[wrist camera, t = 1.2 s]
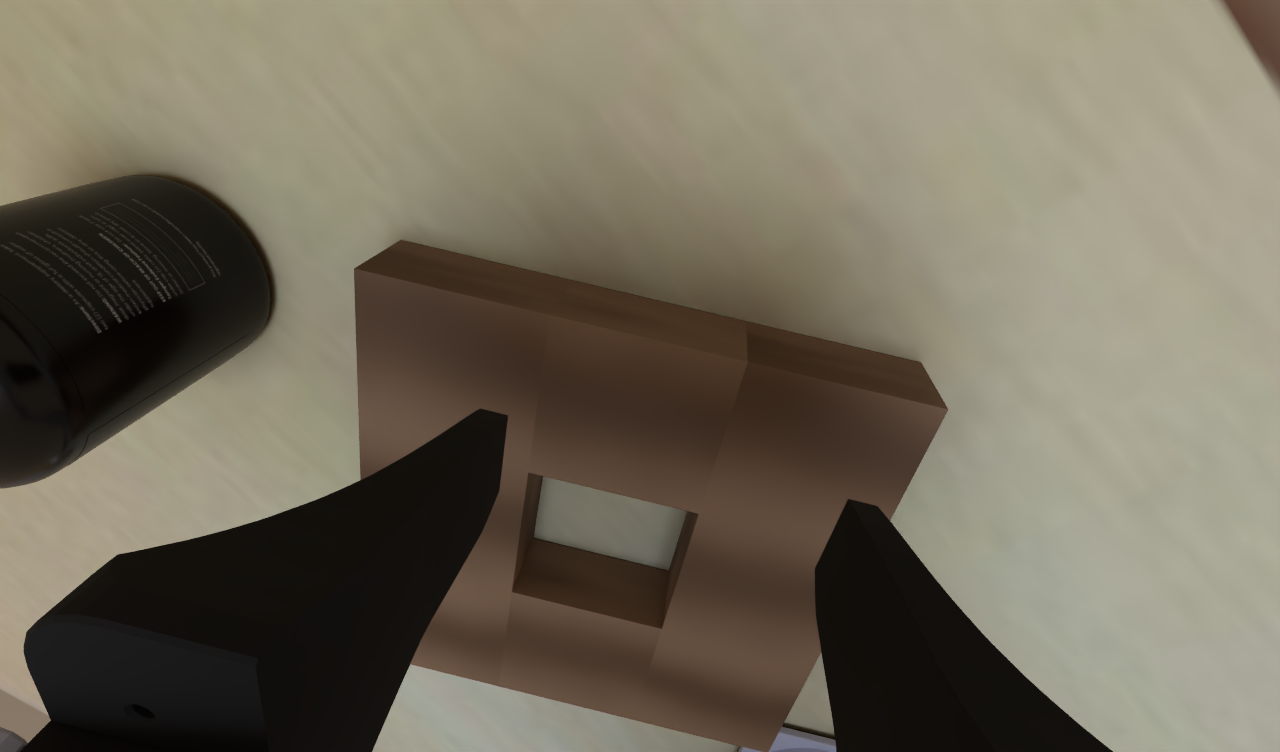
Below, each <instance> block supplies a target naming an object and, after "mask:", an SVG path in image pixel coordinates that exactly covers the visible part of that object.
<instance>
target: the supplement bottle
mask: <svg viewBox="0 0 1280 752" xmlns="http://www.w3.org/2000/svg"><path fill="white" fill-rule="evenodd" d="M269 310H270V286H269V281H268V276H267V273H266V270H265V267H264V264H263V262H262V259H261V257H260V255H259V253H258V251H257V250H256V248H255V246H254V244H253V243H252V241H251V240H250V238H249V237H248V235H247V234H246V233H245V232H244V230H243V229H242V228H241V227H240V225H239V224H238V223H237V222H236V221H235V220H234V219H233V218H232V217H231V216H230V215H229V214H228V213H227V212H226V211H225V210H223V209H222V208H221V207H220V206H219V205H217V204H216V203H215V202H213V201H212V200H211V199H209V198H207V197H206V196H204V195H203V194H201V193H199V192H198V191H196V190H194V189H192V188H190V187H188V186H185V185H183V184H181V183H178V182H175V181H172V180H169V179H165V178H161V177H155V176H147V175H133V176H124V177H119V178H114V179H109V180H105V181H101V182H96V183H91V184H87V185H83V186H79V187H75V188H71V189H67V190H63V191H59V192H55V193H51V194H47V195H42V196H38V197H34V198H30V199H26V200H22V201H18V202H14V203H10V204H6V205H2V206H0V489H1V488H10V487H16V486H21V485H26V484H30V483H34V482H37V481H40V480H42V479H45V478H47V477H49V476H51V475H53V474H55V473H56V472H58V471H60V470H61V469H63V468H64V467H66V466H68V465H70V464H71V463H73V462H74V461H76V460H78V459H79V458H81V457H82V456H84V455H85V454H87V453H88V452H90V451H91V450H93V449H94V448H96V447H97V446H99V445H100V444H102V443H103V442H105V441H106V440H108V439H109V438H111V437H113V436H114V435H116V434H117V433H119V432H120V431H122V430H123V429H125V428H126V427H128V426H129V425H131V424H132V423H134V422H135V421H137V420H138V419H140V418H141V417H143V416H144V415H146V414H147V413H149V412H151V411H152V410H154V409H155V408H157V407H158V406H160V405H161V404H163V403H164V402H166V401H167V400H169V399H170V398H172V397H173V396H175V395H176V394H178V393H179V392H181V391H182V390H184V389H185V388H187V387H188V386H190V385H192V384H193V383H195V382H196V381H198V380H199V379H201V378H202V377H204V376H205V375H207V374H208V373H210V372H211V371H213V370H214V369H216V368H217V367H219V366H220V365H222V364H223V363H225V362H226V361H228V360H229V359H231V358H232V357H234V356H235V355H236V354H238V353H239V352H241V351H242V350H244V349H245V348H246V347H248V346H249V345H250V344H251V343H252V342H253V341H254V340H255V339H256V338H257V337H258V336H259V334H260V333H261V332H262V330H263V328H264V326H265V324H266V321H267V319H268V315H269Z"/></svg>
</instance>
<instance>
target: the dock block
mask: <svg viewBox="0 0 1280 752" xmlns="http://www.w3.org/2000/svg"><path fill="white" fill-rule="evenodd" d="M354 281H355V313H356V345H357V377H358V409H359V441H360V473H361V480H362V479H364V478H366V477H368V476H370V475H372V474H374V473H375V472H377V471H379V470H381V469H383V468H385V467H386V466H388V465H390V464H392V463H394V462H395V461H397V460H399V459H401V458H403V457H404V456H406V455H408V454H409V453H411V452H412V451H414V450H416V449H417V448H419V447H421V446H422V445H424V444H425V443H427V442H429V441H430V440H432V439H433V438H435V437H437V436H438V435H440V434H441V433H443V432H444V431H446V430H447V429H449V428H450V427H452V426H453V425H455V424H456V423H458V422H459V421H461V420H462V419H464V418H465V417H467V416H468V415H470V414H471V413H473V412H474V411H476V410H478V409H480V408H481V409H485V410H489V411H493V412H497V413H501V414H505V415H508V422H507V430H506V439H505V447H504V456H503V465H502V473H501V482H500V490H499V493H498V496H497V498H496V500H495V503H494V505H493V508H492V510H491V513H490V515H489V517H488V520H487V522H486V524H485V527H484V529H483V531H482V533H481V535H480V537H479V539H478V540H477V542H476V544H475V546H474V547H473V549H472V551H471V553H470V554H469V556H468V558H467V560H466V561H465V563H464V565H463V567H462V568H461V570H460V572H459V573H458V575H457V577H456V579H455V580H454V582H453V584H452V586H451V587H450V589H449V591H448V592H447V594H446V596H445V598H444V599H443V601H442V603H441V605H440V606H439V608H438V610H437V611H436V613H435V615H434V617H433V618H432V620H431V622H430V624H429V626H428V628H427V630H426V632H425V633H424V635H423V637H422V639H421V641H420V643H419V646H418V648H417V650H416V652H415V654H414V657H413V659H412V661H411V663H410V664H412V665H416V666H420V667H424V668H428V669H432V670H436V671H440V672H444V673H448V674H452V675H456V676H460V677H464V678H468V679H472V680H476V681H480V682H484V683H488V684H492V685H496V686H500V687H504V688H508V689H512V690H516V691H520V692H524V693H528V694H532V695H536V696H540V697H544V698H548V699H552V700H556V701H560V702H564V703H568V704H572V705H576V706H580V707H584V708H589V709H593V710H597V711H601V712H605V713H609V714H613V715H617V716H621V717H625V718H629V719H633V720H637V721H641V722H645V723H649V724H653V725H657V726H661V727H665V728H669V729H673V730H677V731H681V732H685V733H689V734H693V735H697V736H701V737H705V738H709V739H713V740H717V741H721V742H725V743H729V744H733V745H737V746H741V747H745V748H749V749H753V750H757V751H761V752H769V750H770V748H771V746H772V744H773V742H774V741H775V739H776V737H777V735H778V733H779V731H780V729H781V727H782V725H783V723H784V721H785V720H786V718H787V716H788V714H789V712H790V710H791V708H792V706H793V704H794V702H795V701H796V699H797V697H798V695H799V693H800V691H801V689H802V687H803V685H804V683H805V681H806V680H807V678H808V676H809V674H810V672H811V670H812V668H813V666H814V664H815V662H816V660H817V659H818V657H819V655H820V653H821V646H820V640H819V633H818V627H817V620H816V609H815V567H816V565H817V563H818V561H819V559H820V557H821V555H822V552H823V550H824V548H825V546H826V544H827V542H828V540H829V538H830V536H831V534H832V531H833V529H834V527H835V525H836V523H837V521H838V519H839V517H840V515H841V513H842V510H843V508H844V506H845V504H846V502H847V500H848V499H851V500H855V501H860V502H864V503H868V504H872V505H876V506H878V507H879V508H880V510H881V511H882V512H883V513H884V514H885V516H886V517H887V518H888V519H889V521H890V520H891V518H892V516H893V514H894V512H895V510H896V508H897V506H898V504H899V502H900V500H901V499H902V497H903V495H904V493H905V491H906V489H907V487H908V485H909V483H910V481H911V479H912V478H913V476H914V474H915V472H916V470H917V468H918V466H919V464H920V462H921V460H922V459H923V457H924V455H925V453H926V451H927V449H928V447H929V445H930V443H931V441H932V439H933V438H934V436H935V434H936V432H937V430H938V428H939V426H940V424H941V422H942V420H943V419H944V417H945V415H946V413H947V411H948V408H947V406H946V405H945V403H944V401H943V400H942V398H941V396H940V394H939V393H938V391H937V389H936V387H935V386H934V384H933V382H932V380H931V379H930V377H929V375H928V374H927V372H926V370H925V368H924V367H923V365H922V363H920V362H915V361H911V360H907V359H903V358H898V357H894V356H890V355H886V354H881V353H877V352H873V351H869V350H864V349H860V348H856V347H852V346H847V345H843V344H839V343H835V342H830V341H826V340H822V339H818V338H814V337H809V336H805V335H801V334H797V333H792V332H788V331H784V330H780V329H775V328H771V327H767V326H763V325H758V324H754V323H750V322H746V321H741V320H737V319H733V318H729V317H724V316H720V315H716V314H712V313H707V312H703V311H699V310H695V309H691V308H686V307H682V306H678V305H674V304H669V303H665V302H661V301H657V300H652V299H648V298H644V297H640V296H635V295H631V294H627V293H623V292H618V291H614V290H610V289H606V288H601V287H597V286H593V285H589V284H585V283H580V282H576V281H572V280H568V279H563V278H559V277H555V276H551V275H546V274H542V273H538V272H534V271H529V270H525V269H521V268H517V267H512V266H508V265H504V264H500V263H495V262H491V261H487V260H483V259H478V258H474V257H470V256H466V255H462V254H457V253H453V252H449V251H445V250H440V249H436V248H432V247H428V246H423V245H419V244H415V243H411V242H406V241H402V240H400V241H399V242H397V243H395V244H394V245H392V246H390V247H389V248H387V249H385V250H384V251H382V252H381V253H379V254H377V255H376V256H374V257H372V258H371V259H369V260H367V261H366V262H364V263H363V264H361V265H359V266H358V267H356V268H354ZM543 476H545V477H549V478H553V479H557V480H561V481H565V482H570V483H574V484H578V485H582V486H586V487H590V488H594V489H598V490H603V491H607V492H611V493H615V494H619V495H623V496H627V497H632V498H636V499H640V500H644V501H648V502H652V503H656V504H660V505H665V506H669V507H673V508H677V509H681V510H685V511H687V514H686V517H685V521H684V524H683V527H682V530H681V534H680V537H679V540H678V543H677V547H676V550H675V553H674V556H673V560H672V563H671V566H670V569H669V571H665V570H661V569H656V568H652V567H648V566H644V565H640V564H636V563H632V562H628V561H624V560H620V559H616V558H611V557H607V556H603V555H599V554H595V553H591V552H587V551H583V550H579V549H575V548H570V547H566V546H562V545H558V544H554V543H550V542H546V541H542V540H538V539H534V538H533V537H534V530H535V523H536V517H537V510H538V504H539V497H540V490H541V484H542V477H543Z"/></svg>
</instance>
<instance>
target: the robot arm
mask: <svg viewBox="0 0 1280 752" xmlns="http://www.w3.org/2000/svg"><path fill="white" fill-rule="evenodd" d="M507 422H508V415H505V414H501V413H497V412H493V411H489V410H485V409H481V408H480V409H478V410H476V411H474V412H473V413H471V414H470V415H468V416H467V417H465V418H464V419H462V420H461V421H459V422H458V423H456V424H455V425H453V426H452V427H450V428H449V429H447V430H446V431H444V432H443V433H441V434H440V435H438V436H437V437H435V438H433V439H432V440H430V441H429V442H427V443H425V444H424V445H422V446H421V447H419V448H417V449H416V450H414V451H412V452H411V453H409V454H408V455H406V456H404V457H403V458H401V459H399V460H397V461H395V462H394V463H392V464H390V465H388V466H386V467H385V468H383V469H381V470H379V471H377V472H375V473H374V474H372V475H370V476H368V477H366V478H364V479H362V480H360V481H358V482H356V483H354V484H352V485H350V486H347V487H345V488H343V489H341V490H338V491H336V492H334V493H332V494H329V495H327V496H325V497H322V498H320V499H317V500H315V501H312V502H309V503H307V504H304V505H301V506H298V507H296V508H293V509H290V510H287V511H285V512H282V513H279V514H276V515H274V516H271V517H268V518H265V519H262V520H259V521H255V522H252V523H249V524H245V525H242V526H239V527H236V528H232V529H228V530H225V531H221V532H217V533H214V534H210V535H206V536H202V537H198V538H194V539H190V540H186V541H181V542H176V543H172V544H167V545H162V546H158V547H153V548H149V549H144V550H139V551H135V552H129V553H124V554H119V555H117V556H115V557H114V558H113V559H111V560H110V561H109V562H107V563H106V564H105V565H104V566H102V567H101V568H100V569H99V570H97V571H96V572H95V573H94V574H92V575H91V576H90V577H89V578H88V579H86V580H85V581H84V582H83V583H82V584H81V585H79V586H78V587H77V588H76V589H75V590H73V591H72V592H71V593H70V594H69V595H67V596H66V597H65V598H64V599H63V600H62V601H60V602H59V603H58V604H57V605H56V606H54V607H53V608H52V609H51V610H50V611H49V612H47V613H46V614H45V615H44V616H43V617H41V618H40V619H39V620H38V621H37V622H36V623H35V624H34V625H33V626H32V627H31V628H30V629H29V630H28V631H27V633H26V638H25V642H24V655H25V659H26V663H27V667H28V669H29V671H30V674H31V676H32V678H33V681H34V683H35V685H36V687H37V690H38V692H39V694H40V696H41V699H42V701H43V703H44V705H45V708H46V710H47V712H48V714H49V717H50V719H51V721H50V722H49V723H48V724H47V725H46V726H45V727H44V728H43V729H42V730H41V731H40V732H39V733H38V734H37V735H36V736H35V737H34V738H33V739H32V740H31V741H30V742H29V743H27V742H26V741H25V740H24V739H23V738H21V737H20V736H19V735H17V734H16V733H14V732H12V731H9V730H7V729H4V728H2V727H0V752H372V750H373V748H374V746H375V743H376V741H377V738H378V736H379V734H380V731H381V729H382V727H383V724H384V722H385V720H386V718H387V715H388V713H389V711H390V708H391V706H392V704H393V701H394V699H395V697H396V695H397V692H398V690H399V688H400V685H401V683H402V681H403V679H404V677H405V674H406V672H407V670H408V668H409V666H410V663H411V661H412V659H413V657H414V654H415V652H416V650H417V648H418V646H419V643H420V641H421V639H422V637H423V635H424V633H425V632H426V630H427V628H428V626H429V624H430V622H431V620H432V618H433V617H434V615H435V613H436V611H437V610H438V608H439V606H440V605H441V603H442V601H443V599H444V598H445V596H446V594H447V592H448V591H449V589H450V587H451V586H452V584H453V582H454V580H455V579H456V577H457V575H458V573H459V572H460V570H461V568H462V567H463V565H464V563H465V561H466V560H467V558H468V556H469V554H470V553H471V551H472V549H473V547H474V546H475V544H476V542H477V540H478V539H479V537H480V535H481V533H482V531H483V529H484V527H485V524H486V522H487V520H488V517H489V515H490V513H491V510H492V508H493V505H494V503H495V500H496V498H497V496H498V493H499V490H500V482H501V473H502V465H503V456H504V447H505V439H506V430H507ZM815 609H816V620H817V627H818V633H819V640H820V646H821V652H822V658H823V664H824V670H825V676H826V682H827V688H828V694H829V700H830V706H831V712H832V718H833V725H834V734H835V740H834V739H830V738H826V737H822V736H818V735H814V734H810V733H805V732H801V731H797V730H793V729H789V728H785V727H781V729H780V731H779V733H778V735H777V737H776V739H775V741H774V742H773V744H772V746H771V748H770V750H769V752H1113V751H1112V750H1110V749H1109V748H1108V747H1106V746H1105V745H1104V744H1103V743H1101V742H1100V741H1099V740H1098V739H1096V738H1095V737H1094V736H1093V735H1092V734H1090V733H1089V732H1088V731H1087V730H1085V729H1084V728H1083V727H1082V726H1080V725H1079V724H1078V723H1077V722H1076V721H1075V720H1073V719H1072V718H1071V717H1070V716H1069V715H1068V714H1067V713H1065V712H1064V711H1063V710H1062V709H1061V708H1060V707H1058V706H1057V705H1056V704H1055V703H1054V702H1053V701H1052V700H1050V699H1049V698H1048V697H1047V696H1046V695H1045V694H1044V693H1042V692H1041V691H1040V690H1039V689H1038V688H1037V687H1036V686H1035V685H1034V684H1033V683H1032V682H1031V681H1029V680H1028V679H1027V678H1026V677H1025V676H1024V675H1023V674H1022V673H1021V672H1020V671H1019V670H1018V669H1017V668H1016V667H1015V666H1014V665H1013V664H1012V663H1011V662H1010V661H1009V660H1008V659H1007V658H1006V657H1005V656H1004V655H1003V654H1002V653H1001V652H1000V651H999V650H998V649H997V648H996V647H995V646H994V645H993V644H992V643H991V642H990V641H989V640H988V639H987V638H986V637H985V636H984V635H983V634H982V633H981V631H980V630H979V629H978V628H977V627H976V626H975V625H974V624H973V623H972V621H971V620H970V619H969V618H968V617H967V616H966V615H965V614H964V612H963V611H962V610H961V609H960V608H959V607H958V606H957V605H956V603H955V602H954V601H953V600H952V599H951V597H950V596H949V595H948V594H947V593H946V592H945V590H944V589H943V588H942V587H941V585H940V584H939V583H938V582H937V581H936V579H935V578H934V577H933V576H932V574H931V573H930V572H929V571H928V569H927V568H926V567H925V566H924V564H923V563H922V562H921V560H920V559H919V558H918V557H917V555H916V554H915V553H914V551H913V550H912V549H911V548H910V546H909V545H908V544H907V542H906V541H905V540H904V539H903V537H902V536H901V535H900V533H899V532H898V531H897V529H896V528H895V527H894V526H893V524H892V523H891V522H890V521H889V519H888V518H887V517H886V516H885V514H884V513H883V512H882V511H881V510H880V508H879V507H878V506H876V505H872V504H868V503H864V502H860V501H855V500H851V499H848V500H847V502H846V504H845V506H844V508H843V510H842V513H841V515H840V517H839V519H838V521H837V523H836V525H835V527H834V529H833V531H832V534H831V536H830V538H829V540H828V542H827V544H826V546H825V548H824V550H823V552H822V555H821V557H820V559H819V561H818V563H817V565H816V567H815ZM738 752H761V751H757V750H753V749H749V748H745V747H741V746H740V748H739V750H738Z"/></svg>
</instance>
